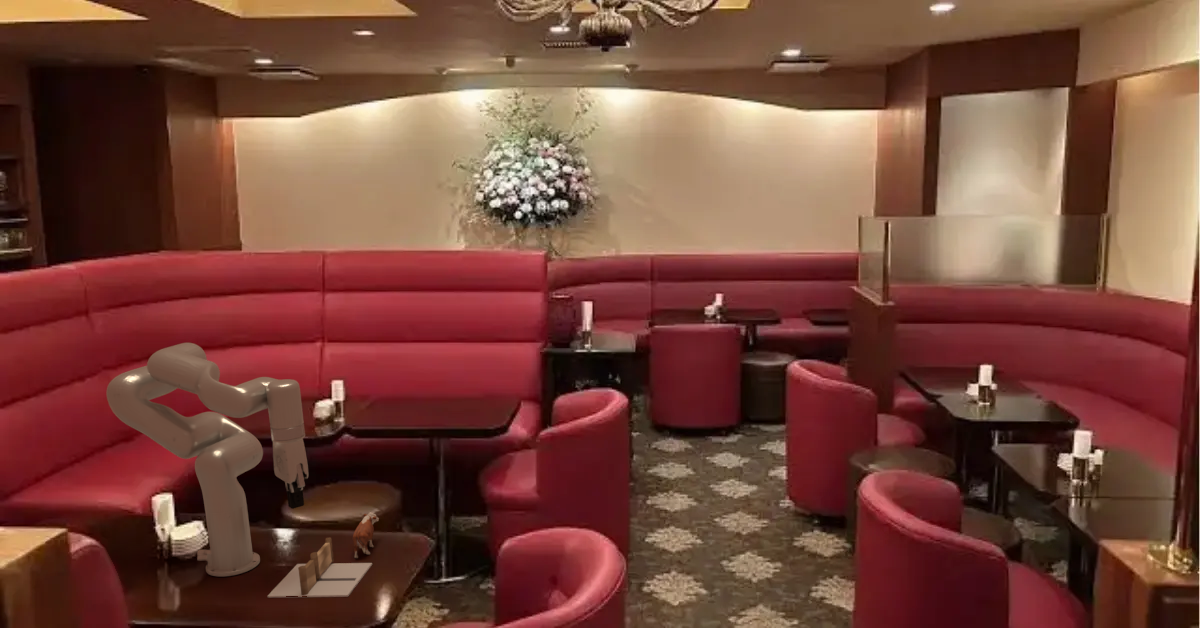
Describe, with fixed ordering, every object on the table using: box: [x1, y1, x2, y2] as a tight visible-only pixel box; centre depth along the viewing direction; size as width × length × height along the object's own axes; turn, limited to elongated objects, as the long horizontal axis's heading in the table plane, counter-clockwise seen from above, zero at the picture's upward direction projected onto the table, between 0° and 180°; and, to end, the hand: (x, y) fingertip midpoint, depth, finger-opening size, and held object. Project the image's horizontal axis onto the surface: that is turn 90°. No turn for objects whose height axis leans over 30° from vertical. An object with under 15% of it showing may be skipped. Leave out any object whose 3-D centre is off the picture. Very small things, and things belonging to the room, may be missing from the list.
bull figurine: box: [352, 511, 380, 559], centre depth 240 cm, size 4×13×8 cm, turn 174°
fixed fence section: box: [298, 559, 316, 595], centre depth 219 cm, size 2×6×6 cm, turn 175°
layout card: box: [267, 562, 373, 598], centre depth 224 cm, size 19×17×1 cm
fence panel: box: [310, 537, 335, 580], centre depth 228 cm, size 11×2×6 cm, turn 175°
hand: (296, 506), depth 226 cm, fingers closed
